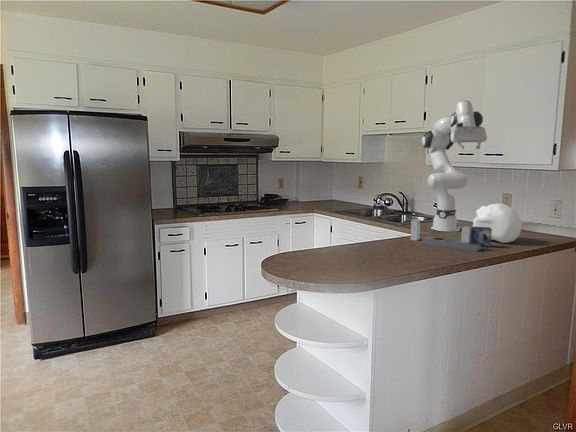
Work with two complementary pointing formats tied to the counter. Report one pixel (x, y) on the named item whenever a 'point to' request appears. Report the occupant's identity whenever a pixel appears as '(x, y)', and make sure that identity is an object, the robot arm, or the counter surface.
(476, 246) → the rail
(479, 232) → the small box
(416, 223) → the clip
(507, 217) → the head
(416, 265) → the counter surface
